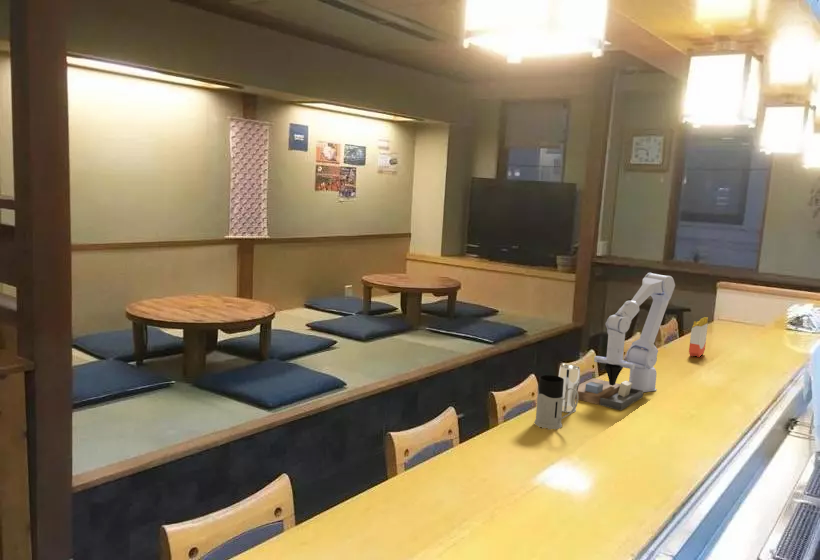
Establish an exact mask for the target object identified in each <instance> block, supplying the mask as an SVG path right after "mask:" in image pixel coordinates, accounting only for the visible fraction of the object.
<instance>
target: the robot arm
mask: <svg viewBox="0 0 820 560" xmlns="http://www.w3.org/2000/svg"><path fill="white" fill-rule="evenodd" d="M675 287H676V283H675V280H674V278H673V277H672V276H671V275H663V274H658V273H652V272H647V274H645V276H644V277H643V278H642V282H641V286H640V287H639V289H638V290H637V292H636V293H635V294H634V295H633V298H632V299H631V300H626V301H625V302H624V303H623V305H622V306H621V307H619V309H618V310H617V312H615V314H612V315H611V314H610V315H609V317H608V318H607V320H606V322H605V327H606V329H607V330H606V333H607V347H606V356H600V355H596V356H594V358H593V359H594V360H593V362H594V363H601V364H605V365H604V369H605V372H606V374H607V377H608V382H609V385H615V383H617V379H618V377H619V375H620V373H621V372H622V370H623V369H624V368H625V369H629V378H628V381H629V382H631V383H632V386H631V388H633V389H638V390H642V391H643V393H648V392H654V391H657V390H658V389H656V385H657V384H656V383H657V370H656V368H655V367H654V366H655V365H656V363H657V361H658V357H657V356H658V353H659V350H658V348H657V347H656V345H655V341H656V339H657V335H658V333H659V330H660V327H661V325H662V321H663V318H664V315H665V313H666V311H667V307H668V305H669V302H670V300H671V298H672V295H673V293H674V290H675ZM649 297H651V298H652V303H651V306H650V308H649V310H648V311H649V312H648V313H647V317H646V319H645V322H644V325H643V328H642V331H641V334H640V337H639V338H638V339H636V340H634V341H632V342H631V345H630V346H629V348H628V349H627V351H626V360H624V359H623V358H624V353H625V352H624V350H625V341H626V340H625V339H626V333H627V332H628V331H629V329H630V327H631V324H632V321H633V319H634V318H635V317H636V316H637V314H638V313H639V312H640V306H641V305H642V304H643V303H644V302H645V301H646V300H647V299H648V298H649Z"/></svg>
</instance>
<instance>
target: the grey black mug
mask: <svg viewBox="0 0 820 560" xmlns="http://www.w3.org/2000/svg"><path fill="white" fill-rule="evenodd" d="M538 380H539V381H538V386H537V398H536V412H535V413H536V414H535V420H534V421H533V424H534V423H535V424H536V425H537V426H539V427H538V428H540V427H542V428H541V429H543V428H548V429H547V430H551V429H555V430H559V428H560V429H561V427H562V428H563V424H562V420H563V419H565V418H567V417H568V416H569V415H571V414H573V413H574V412H573V411H574V410H575V408H576V409H577V407H578V403H579V400H578V399H579V396H578V392H577V391H576V390H575V389H573V388H569V389H567V390H566V392H565V398H563V385H564V379H563V378H561V377H559V375H551V374H545V375H540V376H539V379H538ZM570 389H572V390H574V391H575V392H576V395H577V399H576V400H575V407H574V408H573V410H572V411H571V412H570V413H567V414H565V415H564V416H563V415H562V414H563V412H562V404H563V400H564V399H566V397H567V392H568V391H569V390H570ZM572 412H573V413H572ZM535 424H534V425H535ZM536 425H535V426H536ZM537 426H536V427H537Z"/></svg>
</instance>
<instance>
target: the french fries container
mask: <svg viewBox="0 0 820 560" xmlns="http://www.w3.org/2000/svg"><path fill="white" fill-rule="evenodd" d="M708 319H709V317H705V316H704V317H701V318H700V319H699V320H698V321H696V320H694V321H693V325H692V326H691V331H690V339H689V347H688V354H689V356H690V357H693V356H697V357H696V358H699V357H700V356H701V355H702V354H703V355H704V353H705V350H706V344H707V342H706V341H707V333H708V326H709V325H708V324H709V323H708ZM701 357H702V356H701ZM701 357H700V358H701Z"/></svg>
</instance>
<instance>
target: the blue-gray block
mask: <svg viewBox="0 0 820 560" xmlns="http://www.w3.org/2000/svg"><path fill="white" fill-rule="evenodd" d="M585 391H588V392H592V393H596V394H598V393H600V392H602V391H603V384H600V383H595V382H589V383H587V384H586V388H585Z"/></svg>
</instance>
